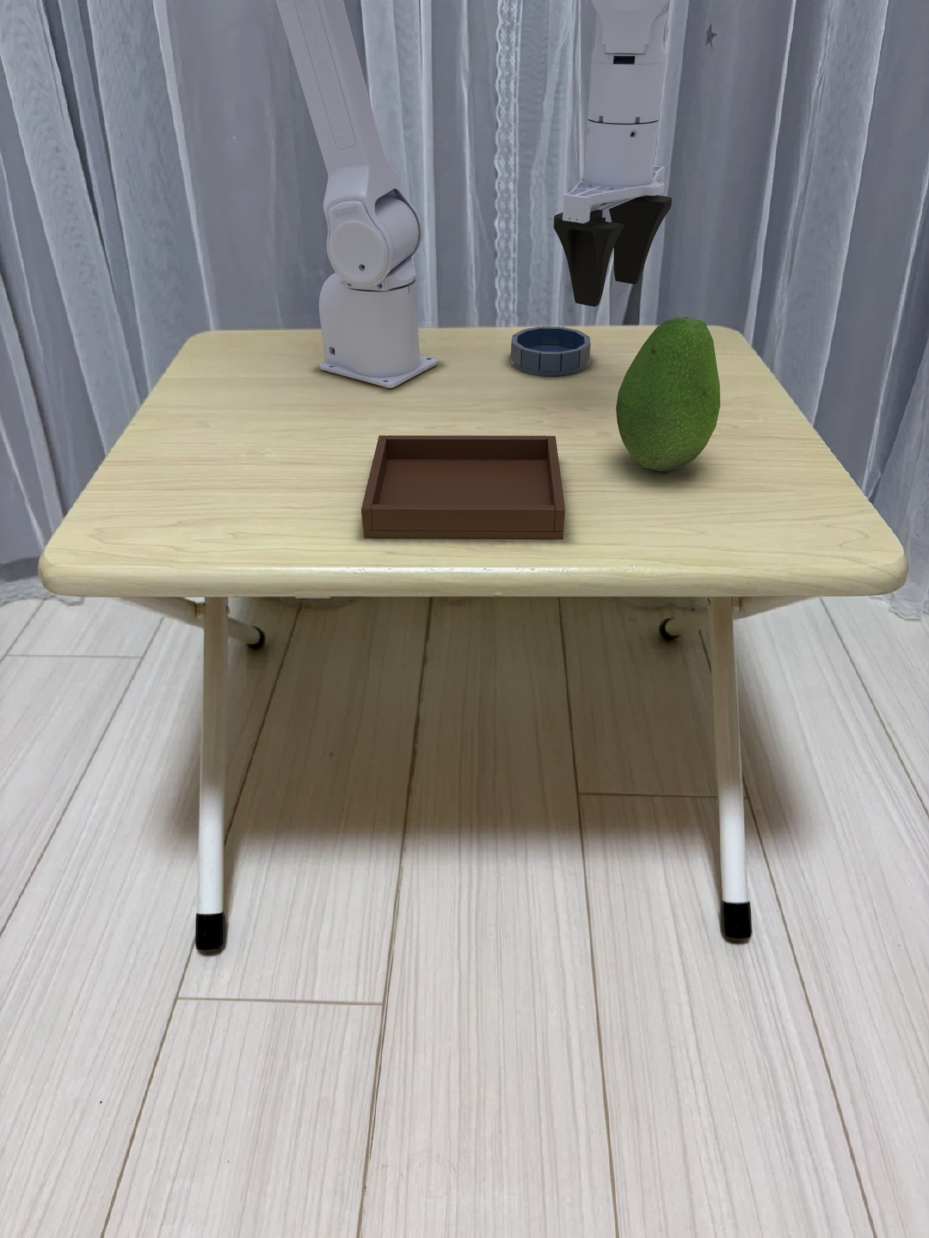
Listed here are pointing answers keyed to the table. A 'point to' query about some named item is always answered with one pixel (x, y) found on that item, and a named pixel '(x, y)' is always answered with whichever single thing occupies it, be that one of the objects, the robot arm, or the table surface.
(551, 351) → the blue faceted bowl
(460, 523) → the tray
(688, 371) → the fruit
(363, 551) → the table surface
